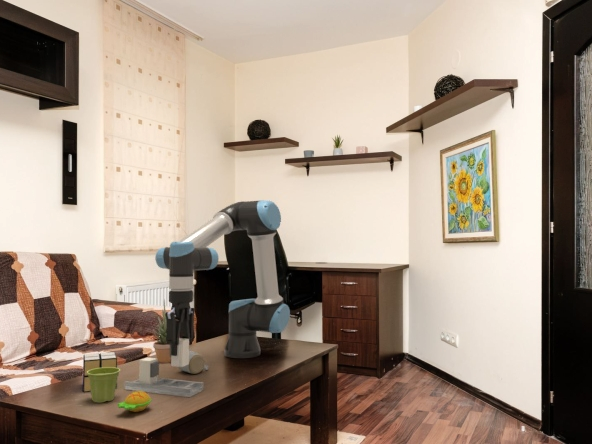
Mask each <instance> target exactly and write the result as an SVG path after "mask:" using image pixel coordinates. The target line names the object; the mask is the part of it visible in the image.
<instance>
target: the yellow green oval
mask: <svg viewBox="0 0 592 444" xmlns="http://www.w3.org/2000/svg"><path fill="white" fill-rule="evenodd" d="M151 402H152V398H151V397H150V395H149V393H148V392H143V391H133V392H131V393H130V394H128V395H127V397H126V398H125V400H124V401H123V402H119V403H117V404H116V406H118V407H117V408H118V409H124V410H128V411H130V412H133V413H138V412H143V411H145V409H147V408H148V406H149V405H150V403H151Z"/></svg>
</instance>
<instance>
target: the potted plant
mask: <svg viewBox="0 0 592 444" xmlns="http://www.w3.org/2000/svg"><path fill="white" fill-rule="evenodd" d="M161 311H162V313H161V314H162V320H161V318H160V316H157V320H158V322H159V324H157V330H158V332H157V331H156V330H155V329H154V328H152V330H153V332H154V333H155V334H154V336H155V337H156V338H157V340H156V342H153V346H152V347H153V349H154V351H155V356H156V358H157V361H159V364H160V363H161V364H165V363H166V364H167V363H171V357H170V345H168V344H167V319H166V315H165V314H166V312H167V311H166V301H165V298H164V299H163V309H162V310H161Z"/></svg>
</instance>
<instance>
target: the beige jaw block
mask: <svg viewBox="0 0 592 444" xmlns="http://www.w3.org/2000/svg"><path fill="white" fill-rule="evenodd" d="M178 345H180V366H177V367H183V366H186V365H188V364H189V350H190V342H189V339H186V338H182V337H179V344H178ZM170 357H171V345H170Z"/></svg>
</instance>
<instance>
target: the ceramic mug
mask: <svg viewBox="0 0 592 444" xmlns="http://www.w3.org/2000/svg"><path fill="white" fill-rule="evenodd" d="M177 367H178V366H177ZM209 368H210V367H209V365H207V364H206V361H205V357H204V356H203V355H202V354H200V353H199V352H198V353H197V352H196V351H193V350H192V349H189V364H188V365H186V366H183V367H178V369H179V370H180V371H183V372H185V373H189V374H190V375H191V374H192V375H196V374H197V375H198V374H199V373H201V372H203V370H206V371H208V370H209Z"/></svg>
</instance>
